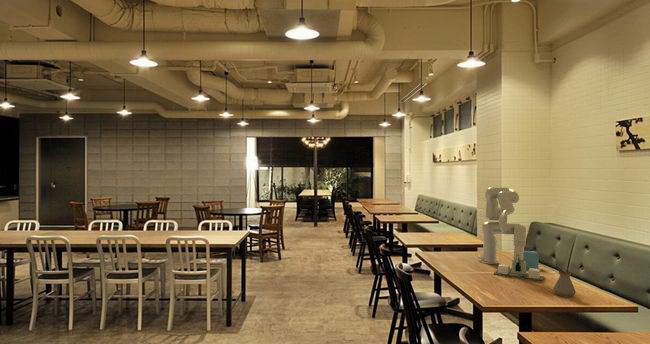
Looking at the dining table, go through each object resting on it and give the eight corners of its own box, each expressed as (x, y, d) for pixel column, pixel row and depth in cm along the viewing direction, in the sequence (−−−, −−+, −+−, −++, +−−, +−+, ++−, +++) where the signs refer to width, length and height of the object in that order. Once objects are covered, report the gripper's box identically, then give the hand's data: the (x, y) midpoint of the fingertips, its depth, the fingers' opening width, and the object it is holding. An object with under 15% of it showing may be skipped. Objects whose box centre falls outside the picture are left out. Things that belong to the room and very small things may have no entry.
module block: (511, 272, 294) (512, 260, 294) (513, 271, 298) (513, 259, 298) (524, 274, 289) (524, 262, 289) (525, 272, 293) (526, 261, 293)
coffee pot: (578, 298, 245) (579, 272, 245) (556, 297, 248) (557, 271, 247) (565, 288, 266) (566, 264, 266) (545, 287, 269) (546, 263, 268)
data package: (536, 267, 322) (536, 251, 321) (538, 268, 317) (538, 252, 317) (519, 266, 323) (519, 250, 323) (521, 268, 319) (521, 251, 319)
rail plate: (493, 274, 298) (493, 272, 298) (497, 271, 306) (497, 269, 306) (542, 281, 281) (542, 279, 281) (544, 278, 289) (544, 276, 289)
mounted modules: (498, 272, 298) (498, 265, 298) (500, 271, 303) (500, 263, 303) (538, 278, 284) (538, 271, 283) (539, 276, 289) (540, 269, 289)
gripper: (516, 241, 302) (515, 267, 303) (510, 244, 288) (510, 272, 289) (527, 242, 298) (527, 269, 298) (523, 246, 284) (522, 273, 284)
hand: (518, 270), depth 294 cm, fingers closed on module block, 4 cm apart
